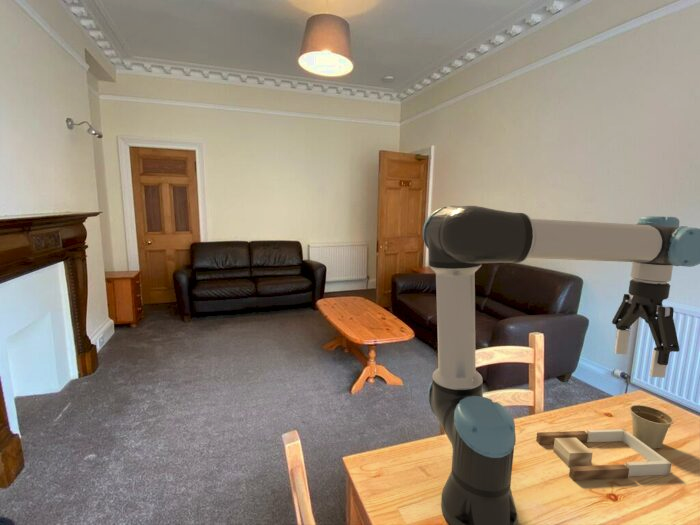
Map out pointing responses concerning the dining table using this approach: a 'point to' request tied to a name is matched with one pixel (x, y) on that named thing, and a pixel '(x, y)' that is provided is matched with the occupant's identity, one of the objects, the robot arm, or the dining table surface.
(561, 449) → the beige square block
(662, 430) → the flower pot
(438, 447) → the dining table surface
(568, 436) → the slot rails
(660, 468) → the corral
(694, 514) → the dining table surface
